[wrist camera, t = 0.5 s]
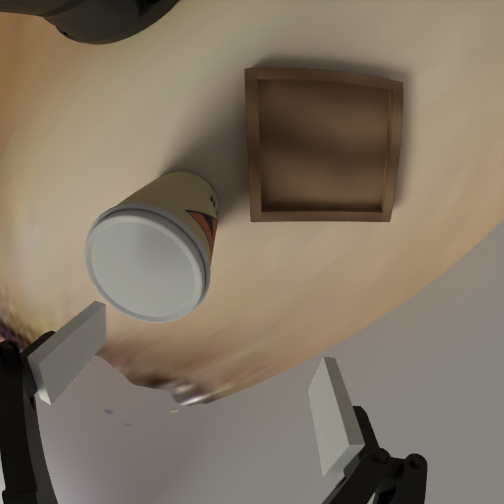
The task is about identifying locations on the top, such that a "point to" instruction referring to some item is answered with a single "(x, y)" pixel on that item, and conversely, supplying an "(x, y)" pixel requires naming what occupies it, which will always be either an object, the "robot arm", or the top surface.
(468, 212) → the top surface
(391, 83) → the coaster tray
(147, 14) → the robot arm
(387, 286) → the top surface
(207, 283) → the coffee cup
